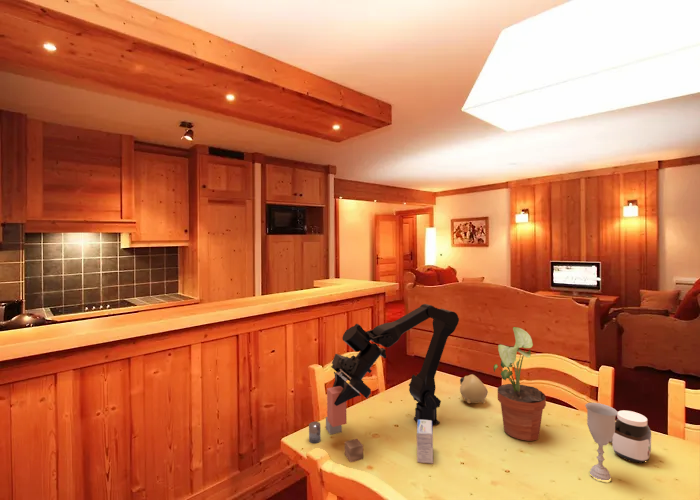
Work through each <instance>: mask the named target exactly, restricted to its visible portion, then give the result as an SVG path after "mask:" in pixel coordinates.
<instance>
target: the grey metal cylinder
mask: <svg viewBox="0 0 700 500" xmlns="http://www.w3.org/2000/svg"><path fill="white" fill-rule="evenodd" d="M321 431H322V430H321V422H319V421H312V422H310V423H309V424H308V442H309V443H311V444H318V443H320V442H321V441H322V439H321V438H322V437H321V436H322V435H321V434H322V433H321Z"/></svg>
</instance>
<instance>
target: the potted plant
mask: <svg viewBox="0 0 700 500" xmlns="http://www.w3.org/2000/svg"><path fill="white" fill-rule="evenodd" d="M512 331H513V334H514V339H515V343H514V345H513V346H508V345H504V344H498V345H497V346H498V347H497V351H498V354H499V357H500V360H501V361H500V362H501V363H500V367H501V368H503V370H502V369H500V371H501V372H500V375H501V379H502V380H504V381H507V379H508V381H509V382H510V383H507V384H505V383H504V384H502V385H500V386H498V387H497V401H498V402H499V403H500V407H501V416H502V422H503V430H504V432H505V433H506V434H507V435H508V436H510V437H512V438H513V439H518V440H522V441H528V442H532V441H538V440H539V437H540V430H541V426H542V425H541V424H542V419H543V412H544V411H543V410H544V409H545V407H546V406H547V403H546V402H547V401H546V400H547V397H546V394H545V393H544V392H543V391H541V390H540V389H538V388H537V387H535V386H530V385H525V384H521V383H520V379H521V378H520V377H521V372H522V371H521V370H522V365H523V360H524V357H525V358H529V359H530V357H531V356H532V354H531V353H532V352H531V348H532V347H533V346H534V343H533V339H532V336H531V335H530V334H529V333H528V332H527V331H526V330H525V329H523V328H520V327H517V326H516V327H515V326H513V327H512ZM520 348H523V349H524V351H523V350H522V349H520ZM526 349H528V351H526ZM517 353H520V355H519V357H521V358H519V359H518V361H517V362H516V360H517ZM515 362H516V364H515ZM515 365H516V366H515ZM497 368H499V366H498V364H497V363H495V364H494V365H493V373H496V369H497ZM504 368H507V369H504ZM510 368H514V373H513V370H511V369H510ZM513 374H515V375H513ZM514 376H515V378H514Z"/></svg>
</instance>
